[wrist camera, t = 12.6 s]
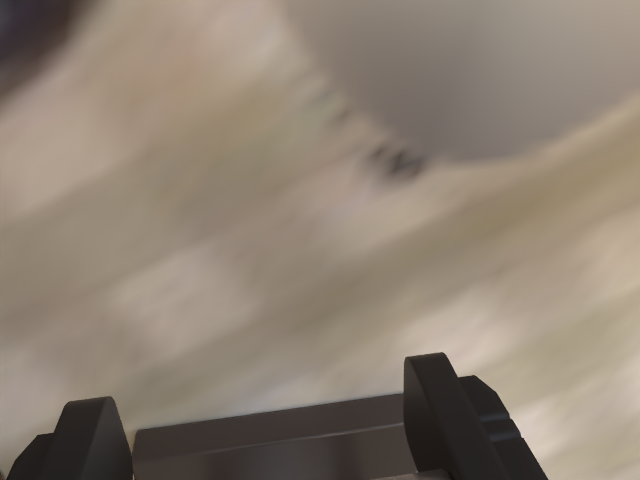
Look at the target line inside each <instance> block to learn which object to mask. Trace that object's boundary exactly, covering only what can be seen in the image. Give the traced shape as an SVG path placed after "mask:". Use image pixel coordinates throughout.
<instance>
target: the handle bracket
mask: <svg viewBox="0 0 640 480" xmlns="http://www.w3.org/2000/svg"><path fill="white" fill-rule="evenodd" d="M403 398H404V394H397V395H389V396H382V397H375V398H368V399H361V400H354V401H347V402H339V403H332V404H325V405H318V406H311V407H304V408H297V409H289V410H282V411H275V412H268V413H261V414H254V415H247V416H240V417H232V418H225V419H218V420H211V421H204V422H197V423H190V424H182V425H175V426H168V427H161V428H154V429H147V430H140V431H138V432H137V434H136V439H135V443H134V448H133V452H132V463H133V474H134V477H135V480H373V479H379V478H386V477H392V476H399V475H405V474H412V473H417V469H416V466H415V463H414V460H413V457H412V454H411V451H410V448H409V445H408V442H407V438H406V433H405V427H404V418H403Z"/></svg>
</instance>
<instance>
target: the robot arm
mask: <svg viewBox="0 0 640 480" xmlns="http://www.w3.org/2000/svg"><path fill="white" fill-rule="evenodd" d="M403 418H404V427H405V433H406V438H407V442H408V445H409V448H410V451H411V454H412V457H413V460H414V463H415V466H416V469H417V471H418V472H425V471H431V470H438V469H444V470H447V471H448V472H449V473H450V475H451V476H452V478H453V480H548V478H547V477H546V475H545V473H544V472H543V470H542V468H541V467H540V465H539V463H538V462H537V460H536V458H535V457H534V455H533V453H532V452H531V450H530V448H529V447H528V445H527V443H526V441H525V440H524V438H521V434H520V431H519V430H518V428H517V426H516V425H515V423H514V421H513V420H512V419H510V416H509V413H508V411H507V410H506V408H505V406H504V405H503V403H502V401H501V400H500V398H499V396H498V395H497V393H496V392H495V391H494V390H492V389H491V388H490V387H489V386H488V385H486V384H485V383H484V382H483V381H481V380H480V379H479V378H478V377H476V376H475V375H472V376H465V377H457V375H456V373H455V371H454V369H453V367H452V365H451V363H450V361H449V360H448V358H447V356H446V355H445V354H444V353H443V352H440V353H433V354H425V355H418V356H410V357H406V358H405V361H404V398H403ZM6 480H133V463H132V456H131V452H130V448H129V445H128V442H127V439H126V435H125V432H124V429H123V426H122V423H121V420H120V416H119V413H118V410H117V407H116V404H115V401H114V399H113V398H112V397H111V396H107V397H99V398H92V399H84V400H77V401H70V402H68V403H67V404H66V405H65V406H64V408H63V411H62V413H61V416H60V418H59V421H58V423H57V426H56V428H55V431H54V433H49V434H42V435H37V437H36V438H35V439H34V440H33V441H32V442H31V443H30V444H29V445H28V447H27V448H26V449H25V450H24V451H23V452H22V453H21V454H20V455H19V457H18V458H17V459H16V460H15V462H14V464H13V466H12V468H11V470H10V473H9V475H8V477H7V479H6Z"/></svg>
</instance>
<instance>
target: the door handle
mask: <svg viewBox="0 0 640 480" xmlns="http://www.w3.org/2000/svg"><path fill="white" fill-rule="evenodd" d="M373 480H453V478H452V476H451V475H450V473H449V472H448V471H447V470H444V469H438V470H431V471H425V472H418V473H412V474H405V475H399V476H392V477H386V478H379V479H373Z"/></svg>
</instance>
